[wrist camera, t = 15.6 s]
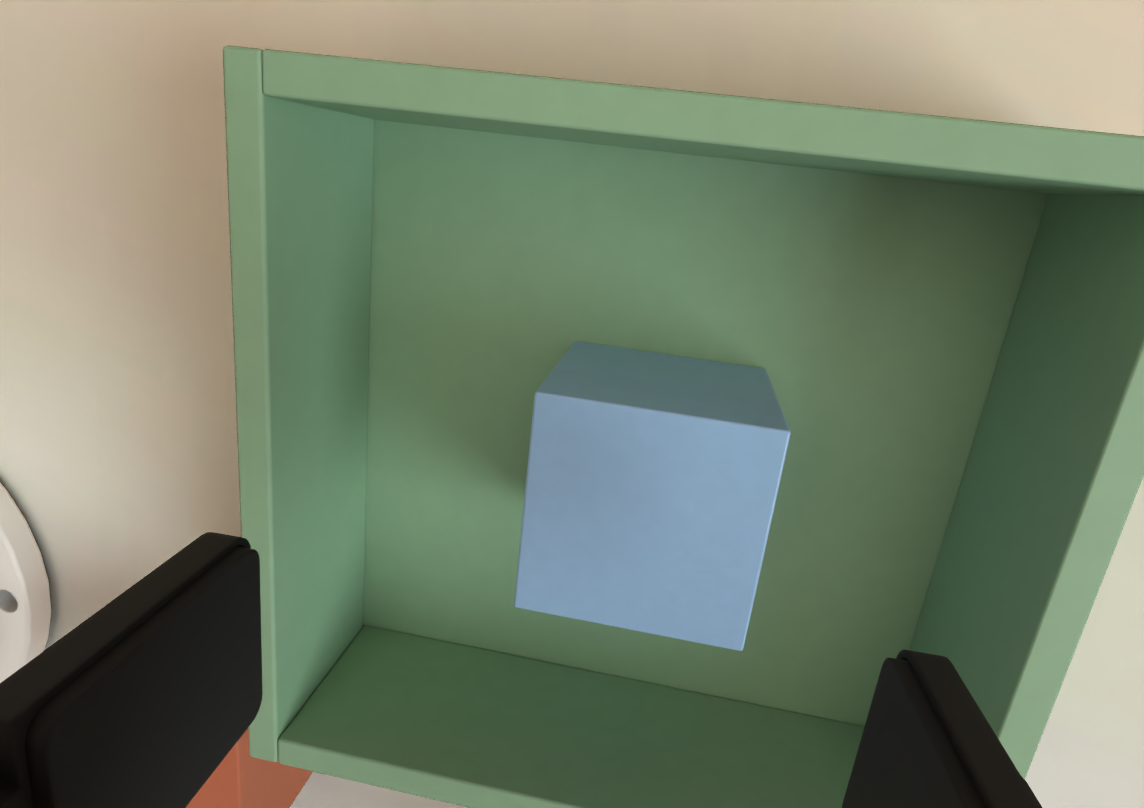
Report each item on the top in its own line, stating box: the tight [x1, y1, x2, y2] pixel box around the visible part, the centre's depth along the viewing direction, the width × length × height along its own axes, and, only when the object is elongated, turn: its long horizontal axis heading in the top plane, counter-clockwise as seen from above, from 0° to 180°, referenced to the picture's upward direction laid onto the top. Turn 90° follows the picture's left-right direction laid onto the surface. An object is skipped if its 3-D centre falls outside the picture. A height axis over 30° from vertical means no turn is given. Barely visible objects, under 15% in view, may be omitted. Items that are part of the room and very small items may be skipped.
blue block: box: [514, 341, 791, 651], centre depth 17 cm, size 5×5×5 cm
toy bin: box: [223, 46, 1144, 808], centre depth 17 cm, size 18×17×6 cm
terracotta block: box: [186, 727, 313, 808], centre depth 22 cm, size 5×5×5 cm
